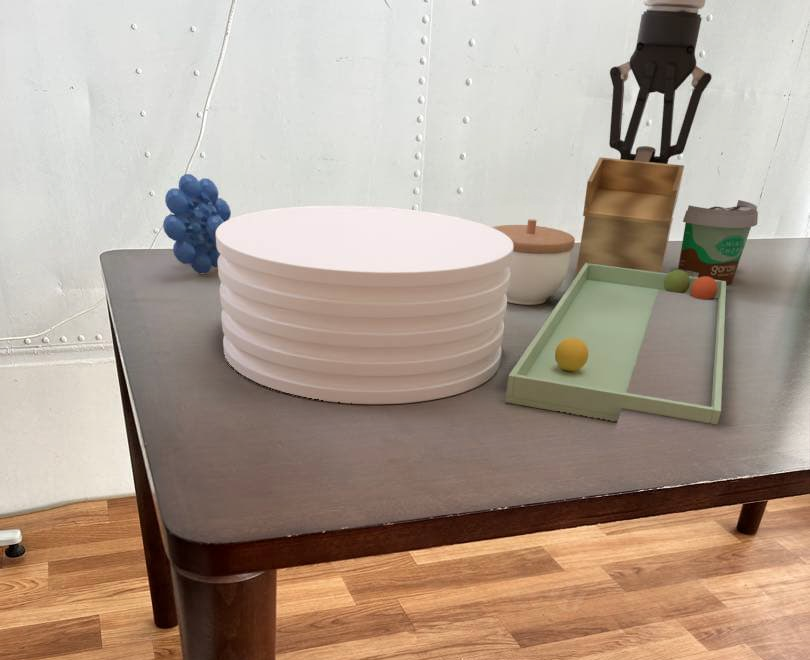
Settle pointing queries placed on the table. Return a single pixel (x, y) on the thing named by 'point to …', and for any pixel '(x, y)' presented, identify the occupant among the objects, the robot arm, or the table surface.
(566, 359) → the ball mustard
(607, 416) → the tray
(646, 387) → the table surface
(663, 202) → the scoop
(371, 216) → the plate stack
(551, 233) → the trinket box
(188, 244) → the grapes
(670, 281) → the ball olive
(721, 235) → the food container
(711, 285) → the ball terracotta
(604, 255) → the riser
